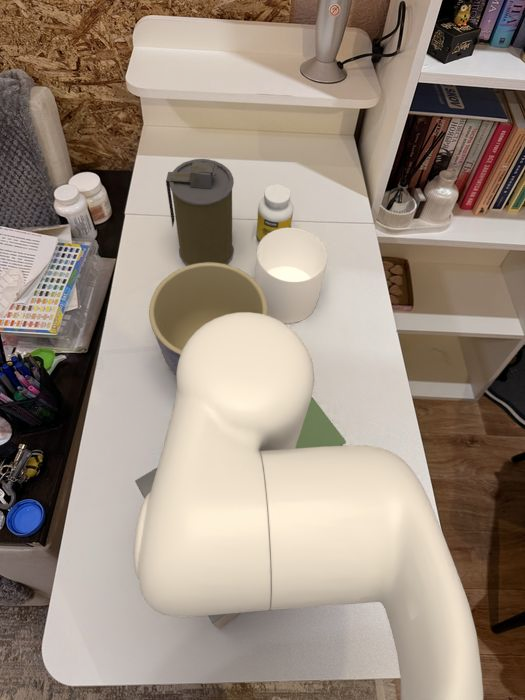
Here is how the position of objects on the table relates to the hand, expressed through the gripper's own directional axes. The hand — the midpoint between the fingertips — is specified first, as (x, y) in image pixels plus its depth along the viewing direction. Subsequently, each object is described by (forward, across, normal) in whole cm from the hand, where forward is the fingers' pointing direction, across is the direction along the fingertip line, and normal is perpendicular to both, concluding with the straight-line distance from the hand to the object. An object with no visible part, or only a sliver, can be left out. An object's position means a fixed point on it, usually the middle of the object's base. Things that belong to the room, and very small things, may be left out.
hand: (239, 500), depth 52 cm
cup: (+23, -31, +30) cm, 49 cm away
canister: (+23, -48, +23) cm, 58 cm away
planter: (+23, -27, +12) cm, 38 cm away
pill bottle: (+23, -44, +36) cm, 61 cm away
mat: (+23, -8, +17) cm, 30 cm away
